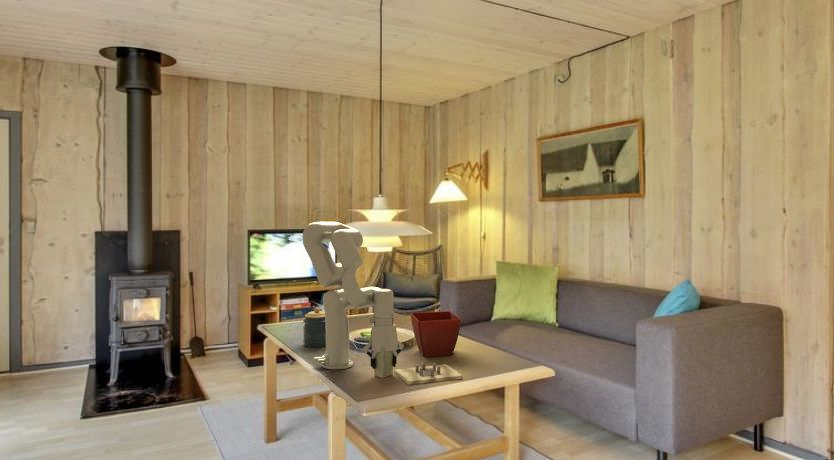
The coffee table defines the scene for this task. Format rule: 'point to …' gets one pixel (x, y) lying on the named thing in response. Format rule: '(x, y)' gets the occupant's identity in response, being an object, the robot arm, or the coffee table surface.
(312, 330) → the canister
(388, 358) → the skincare box
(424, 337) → the plant pot
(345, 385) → the coffee table surface
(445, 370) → the pin tray
